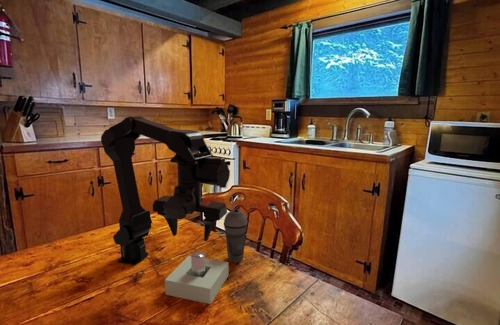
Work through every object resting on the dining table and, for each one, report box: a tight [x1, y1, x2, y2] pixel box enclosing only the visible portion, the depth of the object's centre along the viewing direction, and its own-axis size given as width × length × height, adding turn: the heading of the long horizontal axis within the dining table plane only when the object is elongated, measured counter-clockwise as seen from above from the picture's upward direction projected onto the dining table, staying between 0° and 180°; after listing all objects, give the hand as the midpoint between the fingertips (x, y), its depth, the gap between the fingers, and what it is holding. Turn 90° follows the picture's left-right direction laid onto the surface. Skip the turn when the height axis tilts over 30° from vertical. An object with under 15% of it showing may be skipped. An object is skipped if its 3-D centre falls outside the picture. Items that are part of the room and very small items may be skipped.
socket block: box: [164, 255, 229, 305], centre depth 71 cm, size 12×12×4 cm
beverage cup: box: [223, 195, 249, 263], centre depth 83 cm, size 7×7×20 cm
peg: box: [190, 251, 206, 278], centre depth 71 cm, size 4×4×8 cm
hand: (190, 238), depth 73 cm, fingers open, 9 cm apart
